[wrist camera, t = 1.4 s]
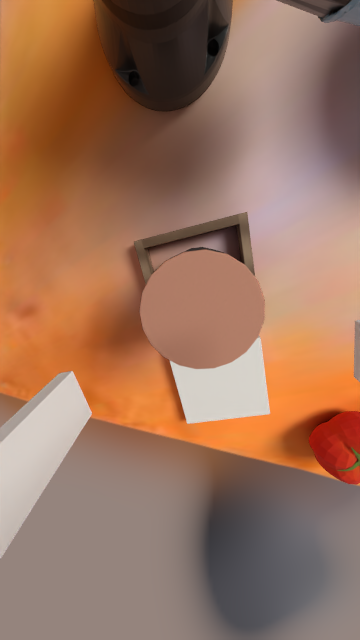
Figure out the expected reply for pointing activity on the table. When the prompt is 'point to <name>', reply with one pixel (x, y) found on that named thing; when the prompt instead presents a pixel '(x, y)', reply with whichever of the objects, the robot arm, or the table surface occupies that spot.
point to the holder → (237, 220)
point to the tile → (224, 388)
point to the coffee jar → (202, 309)
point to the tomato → (339, 446)
